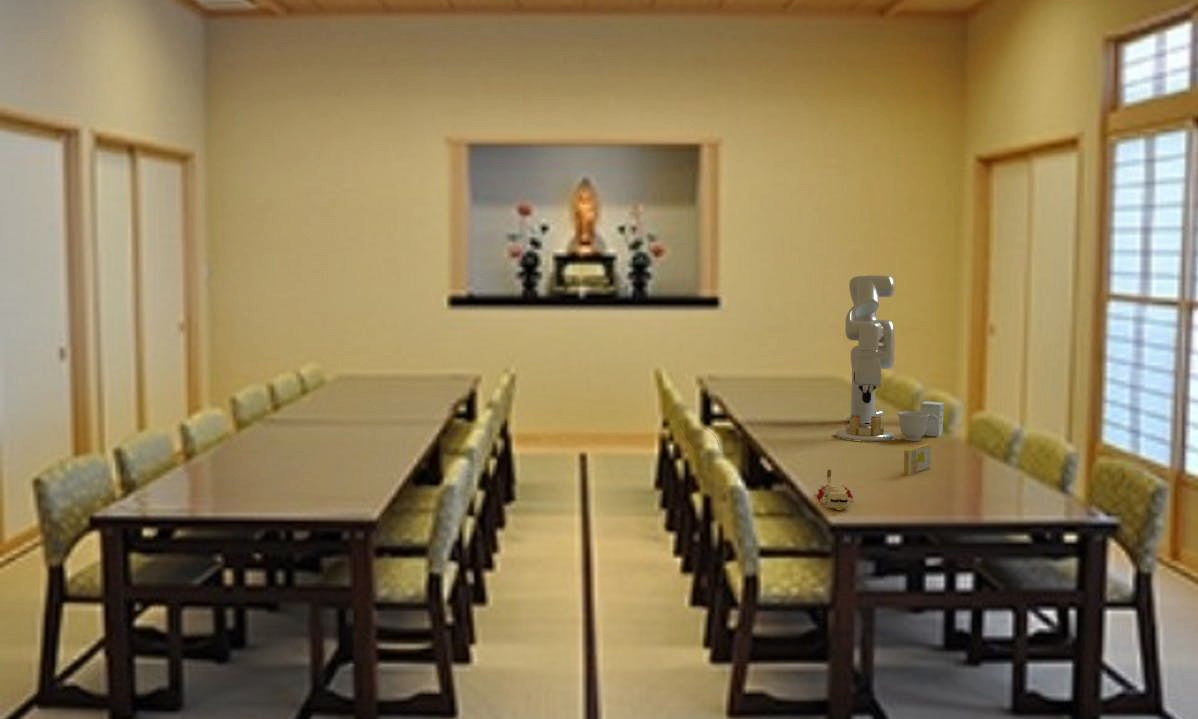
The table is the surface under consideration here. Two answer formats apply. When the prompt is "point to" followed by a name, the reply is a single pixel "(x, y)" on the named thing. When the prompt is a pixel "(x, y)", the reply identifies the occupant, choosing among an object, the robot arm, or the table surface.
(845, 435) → the cap plate
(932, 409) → the supplement box
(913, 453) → the candy box
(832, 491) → the cat figure
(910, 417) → the teacup
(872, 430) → the wooden block ring
